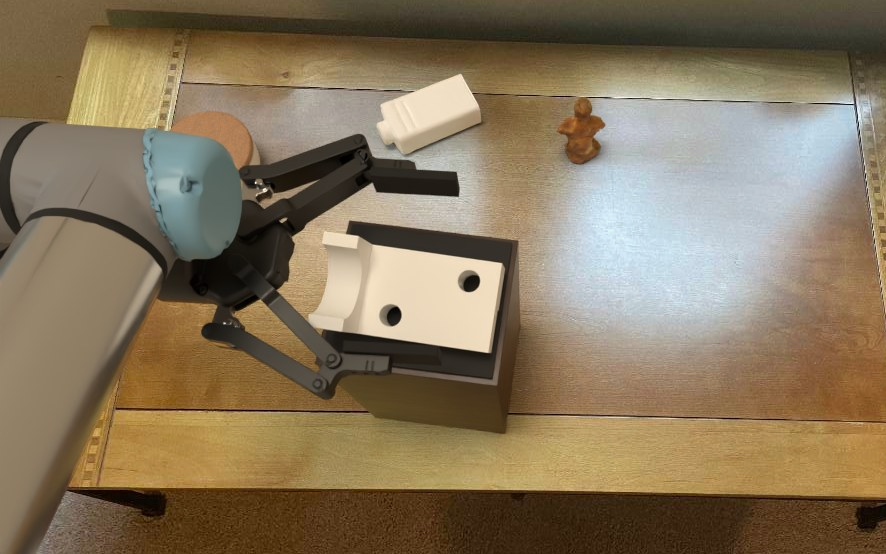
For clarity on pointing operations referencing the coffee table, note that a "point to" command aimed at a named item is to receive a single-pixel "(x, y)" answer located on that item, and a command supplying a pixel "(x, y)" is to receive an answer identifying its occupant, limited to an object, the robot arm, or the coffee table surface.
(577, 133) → the figurine
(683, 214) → the coffee table surface
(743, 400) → the coffee table surface
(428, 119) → the white bottle
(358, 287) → the bracket
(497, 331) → the black pad
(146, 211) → the robot arm
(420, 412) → the walnut stand
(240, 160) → the trinket box
